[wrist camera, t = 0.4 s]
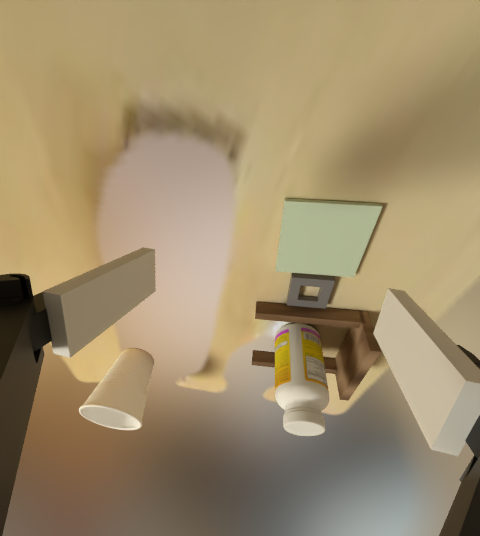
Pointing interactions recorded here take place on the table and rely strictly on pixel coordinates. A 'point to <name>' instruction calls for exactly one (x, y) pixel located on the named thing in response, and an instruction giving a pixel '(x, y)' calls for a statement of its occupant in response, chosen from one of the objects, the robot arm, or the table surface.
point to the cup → (121, 392)
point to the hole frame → (310, 280)
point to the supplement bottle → (300, 379)
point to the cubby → (350, 353)
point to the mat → (325, 236)
